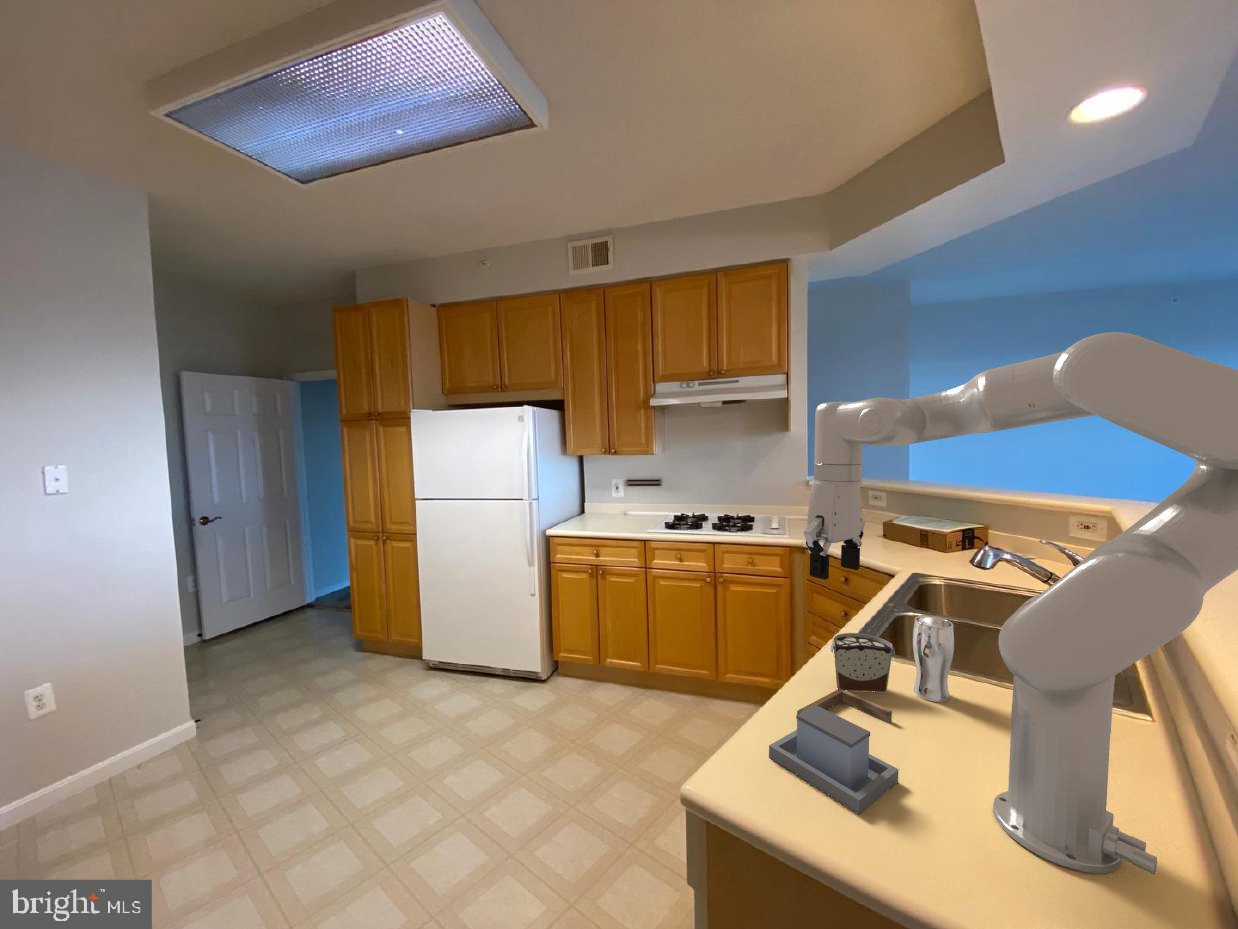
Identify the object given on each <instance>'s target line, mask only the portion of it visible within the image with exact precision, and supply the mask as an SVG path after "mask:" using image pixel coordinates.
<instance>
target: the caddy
mask: <svg viewBox="0 0 1238 929" xmlns="http://www.w3.org/2000/svg"><path fill="white" fill-rule="evenodd" d="M795 717H796V730H797V758H799V759H800V760H802V761H804V762H805V763H807V764H808V765H810V766H812V767H813V768H815V769H817V770H818V771H820V772H822V773H823V774H825V775H827V776H828V777H830V778H832V779H833V780H835V781H837V782H838V783H840V784H842V785H843V786H845V787H847V788H848V789H850V790H851V789H852V788H853V787H855V786H856V785H857V784H859V783H860V782H862V781H863V780H864V779H866V778H867V777H868V768H869V754H870V737H871V731H870V730H868V729H866V728H863V727H861V726H859V725H857V724H855V723H853V722H851V721H849V720H847V719H845V718H843V717H840V716H839V715H837V714H836V713H834V712H831V711H829V710H825V709H823V708H821V707H819V706H817V705H815V706H813V707H811V708H809V709H807V710H805V711H803V712H801V713H800V714H798V715H797V714H796V716H795Z"/></svg>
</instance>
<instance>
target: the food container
mask: <svg viewBox="0 0 1238 929" xmlns="http://www.w3.org/2000/svg"><path fill="white" fill-rule="evenodd" d="M895 651H896V650H895V647H894V645H893V644H892V643H891V642H890V641H888V640H886V639H883V638H881V637H878V636H875V635H871V634H866V633H859V632H844V633H840V634H836V635H835V636H834V637H833V639H832V641H831V645H830V652H831V653H833V654H834V656H833V657H834V667H835V669H834V670H835V679H836V688H838V689H839V688H841V689H843V690H847V691H848V692H855V691H868V692H867V693H877V692H887V691H888V685H889V677H890V671H891V670H890V669H891V662H892V657H893V656H892V655H894V656H895V655H896V652H895ZM838 689H837V690H838ZM869 691H870V692H869ZM872 691H873V692H872ZM874 691H875V692H874Z"/></svg>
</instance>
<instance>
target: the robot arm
mask: <svg viewBox="0 0 1238 929" xmlns="http://www.w3.org/2000/svg"><path fill="white" fill-rule="evenodd" d="M814 415H815V416H814V420H815V421H814V455H813V456H814V461H813V463H814V464H813V482H812V485H811V489H810V493H809V501H808V508H807V520H806V523H807V524H806V528H805V529H804V530H803V536H804V538H805V539H804V540H805V545H806V547H807V552H808V554H809V576H810V577H813V578H817V579H821V580H824V581H825V580H829V577H830V576H829V575H830V555H828V552H829V551H830V550H829V549H830V547H831V545H832V544H836V543H841V542H842V543H843V544H841V545H840V548H841V549H840V566H841V567H842V568H843V569H844V568H845V569H849V570H854V571H858V570H860V568H861V567H860V561H861V547H862V545H863V543H862V538H863V536H864V528H865V525H866V519H864V518H863V516H862V515H863V511H862V508H863V507H862V506H863V505H862V503H863V502H862V492H861V491H862V490H861V485H862V481H863V480H862V479H863V478H862V477H863V473H862V472H863V449H864V448H863V446H864V445H865V446H866V445H868V446H875V447H880V446H881V447H887V446H889V447H890V446H906V445H912V444H920V443H925V442H931V441H938V440H943V439H944V440H945V439H951V438H957V437H963V436H965V435H966V436H967V435H973V434H989V433H996V432H1001V431H1008V430H1012V429H1019V428H1024V427H1029V426H1036V425H1042V424H1049V423H1055V422H1061V421H1066V420H1075V419H1081V418H1086V417H1087V418H1089V417H1093V416H1097V417H1099V418H1102V419H1103V420H1105V421H1107V422H1110V423H1112V424H1114V425H1116V426H1118V427H1121V428H1124V429H1125V430H1128V431H1130V432H1132V433H1134V434H1137V435H1139V436H1141V437H1144V438H1146V439H1148V440H1150V441H1153V442H1155V443H1157V444H1159V445H1162V446H1164V447H1167V448H1168V449H1171V450H1173V451H1174V452H1175V451H1176V452H1178V453H1180V454H1182V455H1184V456H1186V457H1189V458H1191V459H1193V460H1195V461H1196V462H1195V467H1194V469H1193V471H1192V473H1191V474H1190V476H1189V477H1188V479H1187V480H1186V481H1185V482H1183V483H1182V484H1181V485H1180V486H1179V487H1178V488H1176V490H1174V491H1173V492H1172V493H1170V494H1169V495H1168V496H1167V497H1166V498H1165V499H1163V500H1162V501H1161V502H1160V503H1159V504H1158V505H1156V506H1155V507H1154V508H1153V509H1152V510H1150V511H1149V512H1147V514H1146V515H1144V516H1143V517H1142V518H1140V519H1138V520H1137V521H1136V522H1135V523H1134V524H1132V525H1131V526H1130V527H1128V528H1127V529H1126V530H1124V531H1122V532H1121V533H1119V534H1118V535H1117V536H1115V537H1114V538H1112V539H1110V540H1108V541H1106V542H1104V543H1102V544H1101V545H1099V546H1097V547H1096V548H1095V549H1093V550H1092V551H1091V552H1090V553H1088V555H1086V556H1085V558H1083V559H1082V560H1081V561H1080V562H1079V563H1078V564H1077V565H1075V566H1074V567H1073V568H1071V570H1069V571H1068V572H1067V573H1066V574H1064V575H1063V576H1061V577H1060V578H1059V579H1058V580H1057V581H1055V582H1054V583H1053V584H1052V585H1050V586H1049V587H1048V588H1046V589H1044V590H1043V592H1041V593H1040V594H1037V595H1035V596H1032V597H1031V598H1028V600H1026V601H1024V602H1023V604H1022V605H1020V607H1019V608H1018V609H1016V610H1015V611H1014V613H1013V614H1012V615H1011V616H1009V618H1007V619H1006V621H1004V623H1003V625H1002V626H1001V629H1000V630H999V635H998V649H999V652H1000V655H1001V659H1002V661H1003V663H1004V664H1005V667H1006V668H1007V669H1008V670H1009V671H1010V672H1011V674H1012V675H1013V684H1012V701H1011V718H1010V739H1009V740H1010V742H1009V763H1008V764H1009V765H1008V767H1009V769H1008V789H1007V791H1003V792H1000V793H999V794H997V795H996V796H995V798H994V799H993V807H992V808H993V811H992V813H993V815H994V818H995V820H996V822H997V823H998V824H999V826H1000V827H1001V828H1002V829H1003V830H1004V831H1005V833H1006V834H1008V836H1010V837H1011V838H1012V839H1013V840H1014V841H1016V842H1017V843H1018V844H1020V845H1021V846H1023V847H1024V848H1026V849H1027V850H1029V851H1030V852H1032V853H1034V854H1035V855H1037V856H1039V857H1041V858H1043V859H1045V860H1047V861H1050V862H1052V863H1054V864H1057V865H1060V866H1062V867H1065V868H1069V869H1072V870H1075V871H1080V872H1085V873H1094V874H1105V873H1110V872H1113V871H1116V870H1118V868H1119V867H1121V864H1122V862H1123V861H1122V860H1124V861H1126V862H1128V863H1130V864H1131V865H1133V866H1135V867H1137V868H1139V869H1141V870H1142V871H1145V872H1147V873H1149V874H1151V875H1156V871H1157V866H1158V858H1157V856H1155V855H1153V854H1151V853H1149V852H1146V850H1147V849H1146V848H1147V843H1146V842H1145V841H1144V840H1141V839H1139V838H1137V837H1135V836H1133V835H1129V834H1127V833H1124V832H1123V831H1120V828H1119V827H1117V826H1115V825H1114V817H1115V816H1114V812H1113V813H1112V812H1110V811H1108V810H1107V805H1108V803H1107V801H1108V800H1107V799H1108V782H1109V764H1110V763H1109V762H1110V750H1111V749H1110V746H1111V733H1112V719H1113V703H1114V691H1115V681H1116V676H1117V674H1120V673H1121V672H1122V671H1125V670H1126V669H1128V668H1130V667H1131V666H1132V665H1134V664H1136V663H1137V662H1139V661H1140V660H1142V659H1143V658H1145V657H1147V656H1148V655H1150V654H1151V653H1153V652H1155V651H1156V650H1158V649H1159V648H1161V647H1163V646H1165V645H1166V644H1167V643H1169V642H1170V641H1172V640H1174V639H1175V638H1176V637H1177V636H1179V635H1180V634H1182V633H1183V632H1184V631H1185V630H1187V629H1188V628H1189V627H1190V626H1191V625H1192V624H1193V623H1194V621H1196V619H1197V618H1198V617H1199V614H1200V612H1201V611H1202V608H1203V604H1204V597H1205V595H1206V593H1207V592H1208V591H1210V590H1212V588H1213V587H1215V586H1216V585H1217V584H1219V583H1220V582H1222V581H1223V580H1225V579H1226V578H1227V577H1229V576H1231V575H1232V574H1233V573H1235V572H1237V571H1238V370H1237V369H1235V368H1232V367H1229V366H1226V365H1224V364H1220V363H1217V362H1214V361H1212V360H1208V359H1205V358H1202V357H1199V356H1197V355H1192V354H1190V353H1187V352H1184V351H1182V350H1178V349H1175V348H1173V347H1170V346H1167V345H1164V344H1161V343H1159V342H1156V341H1153V340H1151V339H1148V338H1145V337H1142V336H1140V335H1136V334H1132V333H1129V332H1121V331H1119V332H1118V331H1111V332H1110V331H1109V332H1102V333H1096V334H1093V335H1090V336H1087V337H1084V338H1082V339H1080V340H1078V341H1076V342H1075V343H1073V344H1072V345H1070V346H1069V347H1067V348H1066V350H1063V351H1061V352H1057V353H1054V354H1053V353H1052V354H1049V355H1046V356H1041V357H1036V358H1032V359H1029V360H1024V361H1021V362H1014V363H1010V364H1007V365H1003V366H999V367H995V368H991V369H987V370H984V371H981V372H980V373H978V374H976V375H974V377H972V378H971V379H970V380H969V381H967V382H966V383H964V384H961V385H958V386H957V387H954V388H949V389H948V390H943V391H940V392H935V393H931V394H925V395H921V396H916V397H913V398H907V399H901V398H891V397H873V398H868V399H861V400H857V401H828V402H822V403H821V404H819V405H818V406H817V407H816V409H815V414H814ZM821 543H823V544H822V545H821Z"/></svg>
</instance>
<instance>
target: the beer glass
mask: <svg viewBox="0 0 1238 929" xmlns="http://www.w3.org/2000/svg"><path fill="white" fill-rule="evenodd" d="M954 635H955V634H954V623H953V622H951V621H950V620H948V619H945V618H942V617H938V616H931V615H918V616H915V617H914V624H913V631H912V650H913V657H914V662H915V669H916V670H915V671H916V675H915V682H914V686H913V692H914V694H915V693H916V694H917V695H918V696H917V695H916V694H915V695H916V696H917V697H919V696H920V697H919V698H920V699H923V700H925V699H927V700H926V701H928V700H929V702H932V701H933V703H939V702H942V703H946V702H949V700H950V692H949V686H948V681H949V680H948V678H949V673H950V671H951V666H952V662H953V658H954V651H955V636H954Z"/></svg>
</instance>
